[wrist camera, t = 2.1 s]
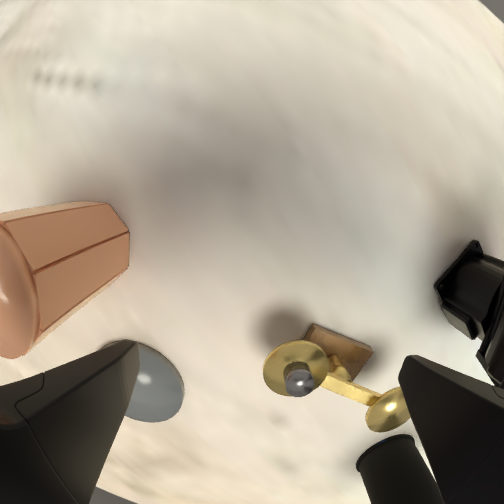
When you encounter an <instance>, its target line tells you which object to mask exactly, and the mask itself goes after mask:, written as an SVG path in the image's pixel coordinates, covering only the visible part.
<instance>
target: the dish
mask: <svg viewBox="0 0 504 504" xmlns="http://www.w3.org/2000/svg"><path fill="white" fill-rule="evenodd" d="M118 342H121V341H117V342H112V343H110V344H108V345H106V346H104V347H103V348H102V349H104V348H106V347H108V346H111V345H113V344H116V343H118ZM138 347H139V357H140V370H139V373H138V376H137V380H136V383H135V386H134V390H133V393H132V396H131V400H130V403H129V406H128V409H127V411H126V413H125V416H127V417H129V418H132V419H135V420H138V421H143V422H161V421H165V420H168V419H170V418H172V417H173V416H174V415H175V414H176V413H177V412H178V411H179V409H180V407H181V405H182V401H183V398H184V384H183V381H182V378H181V376H180V374H179V372H178V371H177V369H176V368H175V367H174V366H173V364H172V363H171V362H170V361H169V360H168V359H167V358H165V357H164V356H163V355H162V354H160V353H159V352H157V351H156V350H154V349H152V348H150V347H148V346H146V345H143V344H140V343H138Z"/></svg>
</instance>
